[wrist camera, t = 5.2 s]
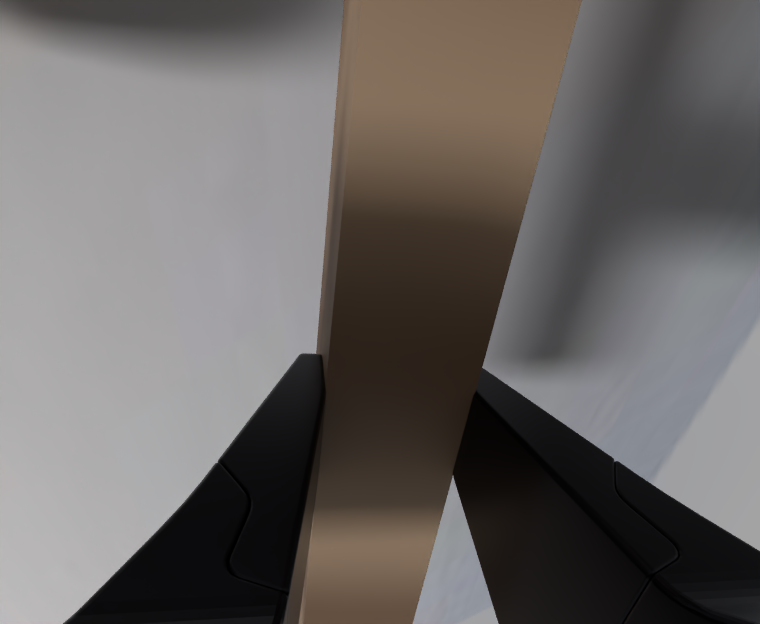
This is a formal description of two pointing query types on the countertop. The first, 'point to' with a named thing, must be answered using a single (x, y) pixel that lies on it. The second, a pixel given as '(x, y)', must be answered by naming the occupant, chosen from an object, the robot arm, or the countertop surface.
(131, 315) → the countertop surface
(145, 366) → the countertop surface
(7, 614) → the countertop surface
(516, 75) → the bar
